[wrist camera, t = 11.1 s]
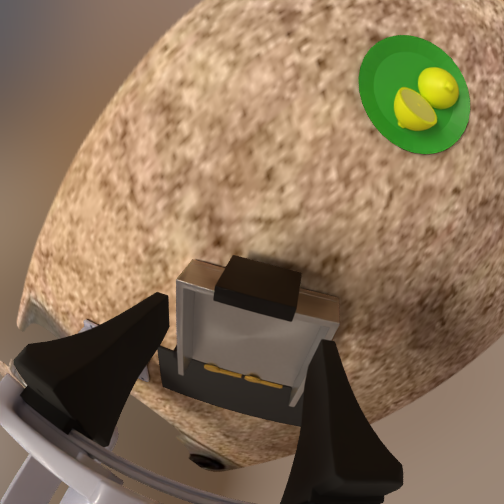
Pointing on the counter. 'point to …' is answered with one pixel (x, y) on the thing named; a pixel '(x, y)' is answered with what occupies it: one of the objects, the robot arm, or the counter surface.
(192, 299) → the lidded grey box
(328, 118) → the counter surface
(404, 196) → the counter surface
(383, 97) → the green plate with lemons
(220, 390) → the dark grey panel
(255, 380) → the key
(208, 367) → the key
